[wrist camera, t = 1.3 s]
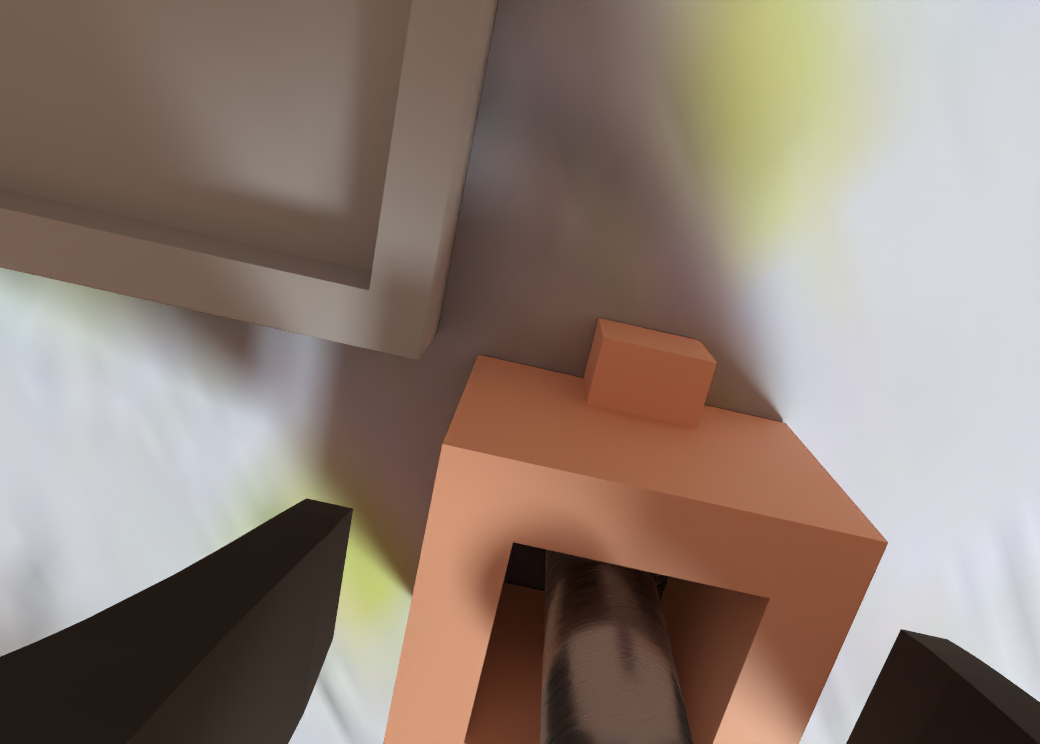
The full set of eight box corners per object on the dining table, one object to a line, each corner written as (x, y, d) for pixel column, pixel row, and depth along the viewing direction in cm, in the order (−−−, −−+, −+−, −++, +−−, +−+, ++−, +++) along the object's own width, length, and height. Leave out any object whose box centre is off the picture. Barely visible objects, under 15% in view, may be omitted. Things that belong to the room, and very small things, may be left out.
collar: (694, 672, 12) (745, 863, 9) (424, 613, 12) (375, 784, 9) (806, 364, 10) (924, 462, 7) (490, 293, 10) (458, 357, 7)
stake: (627, 574, 12) (675, 858, 7) (537, 554, 12) (522, 825, 7) (652, 493, 11) (721, 740, 6) (558, 472, 11) (559, 705, 6)
